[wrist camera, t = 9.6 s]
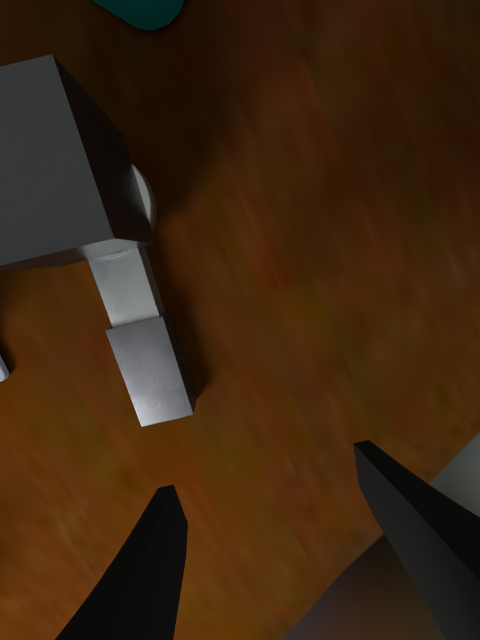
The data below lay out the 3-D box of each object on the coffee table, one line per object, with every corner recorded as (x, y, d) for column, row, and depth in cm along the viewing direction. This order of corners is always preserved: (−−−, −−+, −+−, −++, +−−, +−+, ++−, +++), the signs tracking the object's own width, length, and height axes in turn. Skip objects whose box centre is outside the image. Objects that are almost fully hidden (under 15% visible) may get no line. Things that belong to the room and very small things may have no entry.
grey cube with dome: (155, 243, 15) (114, 238, 10) (61, 266, 15) (-35, 273, 10) (123, 134, 14) (52, 54, 8) (19, 160, 14) (-122, 96, 8)
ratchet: (212, 395, 20) (207, 438, 15) (134, 413, 20) (106, 462, 15) (140, 143, 15) (102, 96, 11) (40, 166, 16) (-39, 130, 11)
